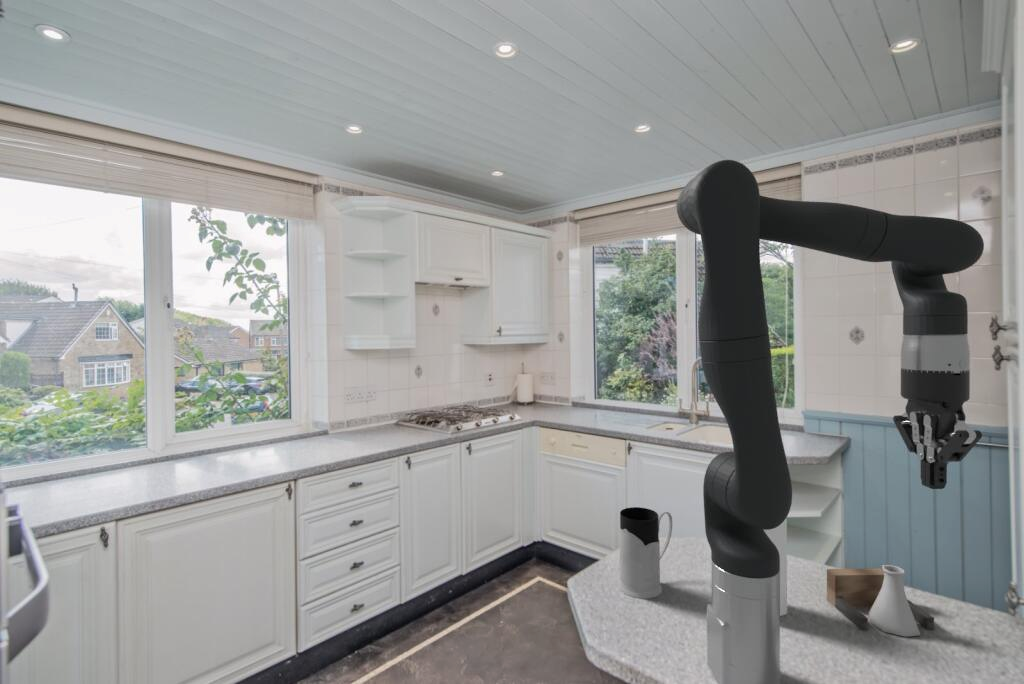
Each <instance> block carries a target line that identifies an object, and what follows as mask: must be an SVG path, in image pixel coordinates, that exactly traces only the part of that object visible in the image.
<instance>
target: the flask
mask: <svg viewBox="0 0 1024 684" xmlns="http://www.w3.org/2000/svg"><path fill="white" fill-rule="evenodd" d="M881 566H882V567H881V568H883V571H884V580H883V585H882V588H881V590H880V592H879V594H878V596H877V598H876V600H875V602H874V604H873V606H872V607H870V610H869V611H868V620H869V623H871V624H872V625H874V626H876V628H877V629H879V630H881V631H882V632H884V633H888V634H892V635H896V636H897V635H898V636H901V637H914V636H915V637H916V636H921V633H920V630H919V627H918V623H917V622H916V621H915V619H914V616H913V614H912V611H911V609H910V606H909V603H908V601H907V599H908V598H907V595H906V591H905V586H904V577H905V576H906V571H905V569H903V568H901V567H900V566H898V565H897V566H896V565H891V564H884V565H883V564H882V565H881Z"/></svg>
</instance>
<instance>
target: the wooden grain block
mask: <svg viewBox="0 0 1024 684" xmlns="http://www.w3.org/2000/svg"><path fill="white" fill-rule="evenodd" d="M883 580H884V571H883V568H882V567H881V568H876V567H875V568H827V569H826V601H827V602H829V604H831V606H833V607H834V608H835V609H836V610H838V611H839V612H840V613H841V614H842V615H843V616H844V617H846V619H848V620H849V621H850V622H851V623H852V624H853V625H854V626H856V627H857V628H858V629H859V630H860V631H868V630H869V622H868V621H869V617H867V616H866V615H865V614H863V613H862V612H861V611H859V610H858V609H857V608H872V606H873V604H874V602H875V600H876V598H877V596H878V594H879V592H880V590H881V588H882V585H883ZM907 601H908V603H909V606H910V609H911V611H912V614H913V616H914V619H915V621H916V624H919V625H920V626H921V627H923V628H924V629H926V630H935V617H933V616H932V615H930V614H929V612H926V611H925V610H924V609H922V608H921V607H920V606H918V605H916V604H915V603H914V602H912V601H910V600H909V599H908V598H907Z"/></svg>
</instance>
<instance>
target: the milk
mask: <svg viewBox="0 0 1024 684" xmlns="http://www.w3.org/2000/svg"><path fill="white" fill-rule="evenodd" d="M787 518H788V517H787ZM787 518H786V519H785V520H784V522H783V523H782V524H780V525H779V526H778V527H776V528H774V529H770V530H764V529H763V530H764V531H765V533H766V534H767V536H768V537H769V539H770V540H771V541H772V542H773V543H774V545H775V546H776V548H777V549H778V552H779V556H780V617H781V616H786V615H787V614H788V560H787V559H788V547H787V546H788V544H787V543H788V525H787V524H788V522H787V521H788V519H787Z"/></svg>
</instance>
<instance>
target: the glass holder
mask: <svg viewBox="0 0 1024 684" xmlns="http://www.w3.org/2000/svg"><path fill="white" fill-rule="evenodd" d="M665 514H667V516H668V531H667V536H666V540H665V541H664V542H665V543H664V545H663V546H662V549H661V551H660V546H661V545H660V539H659V534H660V533H659V532H660V522H661V519H662V518H663V516H664V515H665ZM619 516H620V517H619V521H620V522H619V524H620V526H619V580H618V582H617V587H618V589H619V591H620V592H621V593H622V594H624V595H626V596H627V597H632V598H635V599H641V600H642V599H643V600H646V599H653V598H654V599H655V598H657V597H658V596H661V595H662V592H663V587H662V584H661V564H660V563H661V559H662V557H663V555H664V554H665V552H666V551H667V549H668V547H669V544H670V541H671V537H672V533H673V532H672V531H673V516H672V515H671V513H670V512H669V511H666V510H663V511H661V512H660V513H658V512H657V511H655V510H653V509H650V508H646V507H641V506H640V507H637V506H635V507H633V506H632V507H626V508H622V509H621V510H620V512H619Z"/></svg>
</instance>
